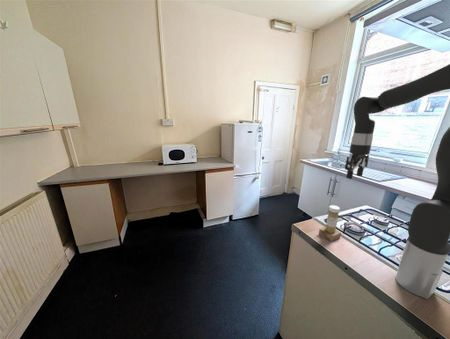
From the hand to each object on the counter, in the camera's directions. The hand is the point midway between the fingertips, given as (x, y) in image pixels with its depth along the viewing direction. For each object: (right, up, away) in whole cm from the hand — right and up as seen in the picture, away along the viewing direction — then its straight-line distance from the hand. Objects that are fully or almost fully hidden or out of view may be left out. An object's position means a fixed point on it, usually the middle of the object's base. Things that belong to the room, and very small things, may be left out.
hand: (354, 177), depth 86 cm
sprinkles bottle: (-8, -28, +6) cm, 30 cm away
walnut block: (-8, -31, +7) cm, 32 cm away
